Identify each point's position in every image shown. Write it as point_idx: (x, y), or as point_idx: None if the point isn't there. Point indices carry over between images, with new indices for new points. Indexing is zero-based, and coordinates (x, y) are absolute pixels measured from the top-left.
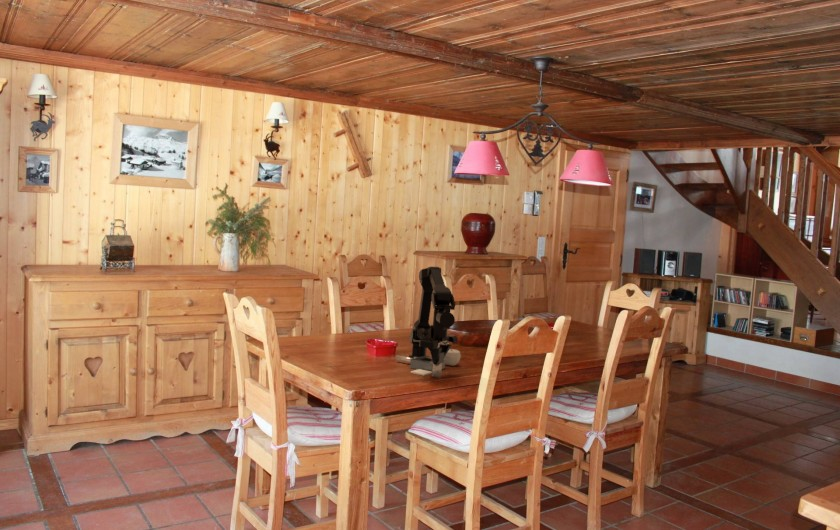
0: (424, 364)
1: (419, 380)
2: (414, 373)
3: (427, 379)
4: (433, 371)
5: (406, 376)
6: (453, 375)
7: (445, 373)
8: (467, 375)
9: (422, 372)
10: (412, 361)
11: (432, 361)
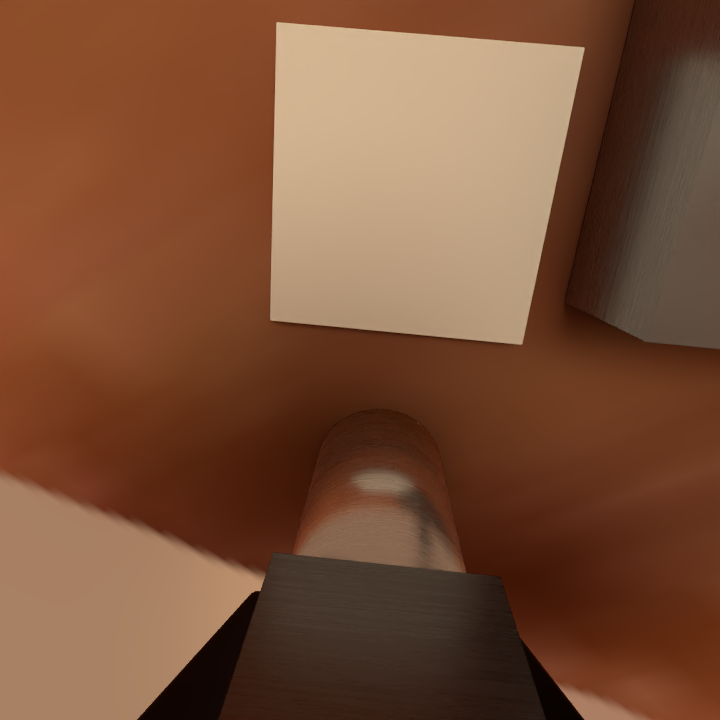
0: (675, 127)
1: (11, 394)
2: (278, 130)
3: (143, 445)
4: (312, 484)
5: (21, 126)
6: (589, 588)
7: (639, 479)
8: (696, 693)
9: (360, 248)
10: None
11: (268, 591)
